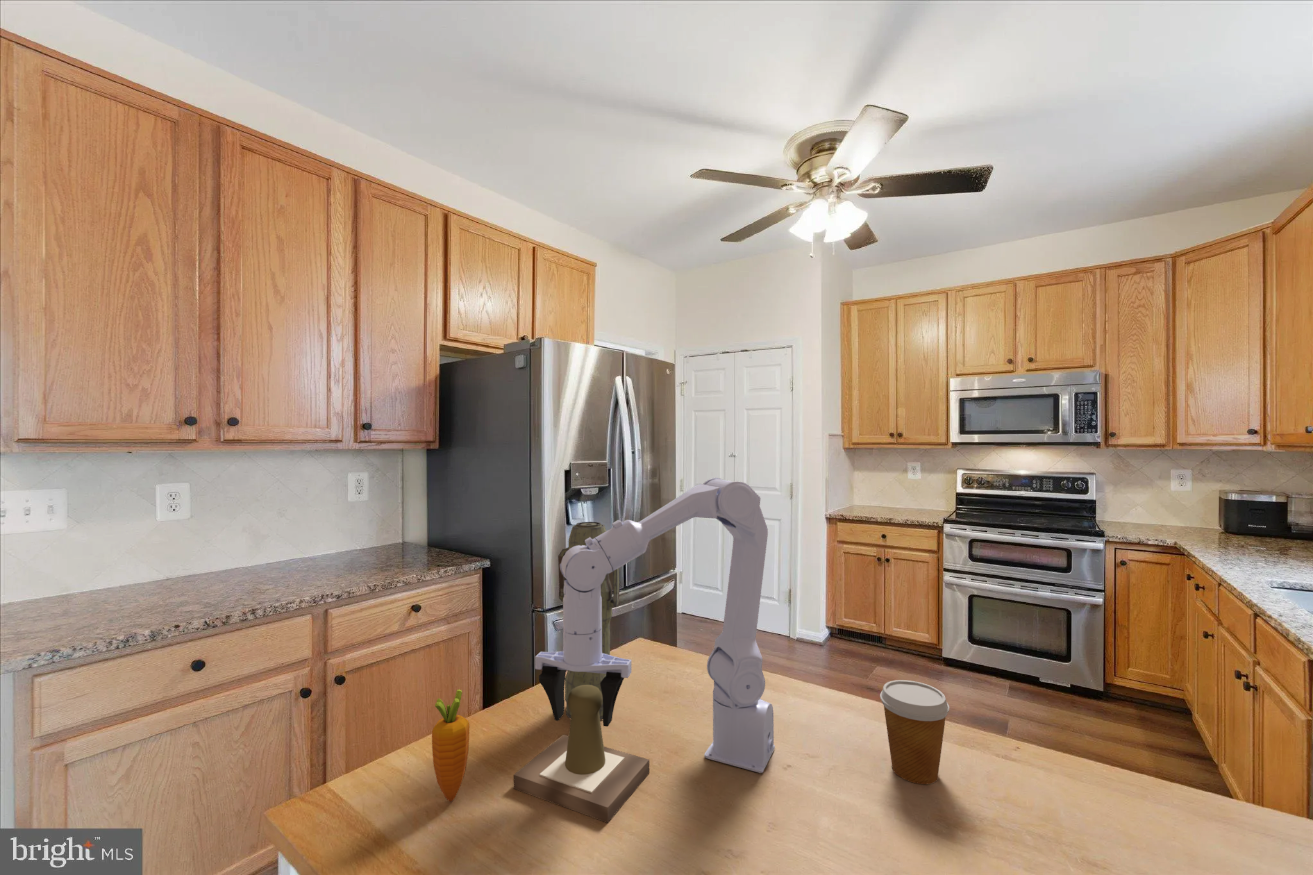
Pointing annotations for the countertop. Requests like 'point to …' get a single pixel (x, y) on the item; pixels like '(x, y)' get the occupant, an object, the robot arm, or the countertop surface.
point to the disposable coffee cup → (914, 728)
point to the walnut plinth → (582, 780)
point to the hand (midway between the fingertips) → (583, 720)
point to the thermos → (587, 678)
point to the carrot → (450, 747)
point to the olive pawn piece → (585, 731)
